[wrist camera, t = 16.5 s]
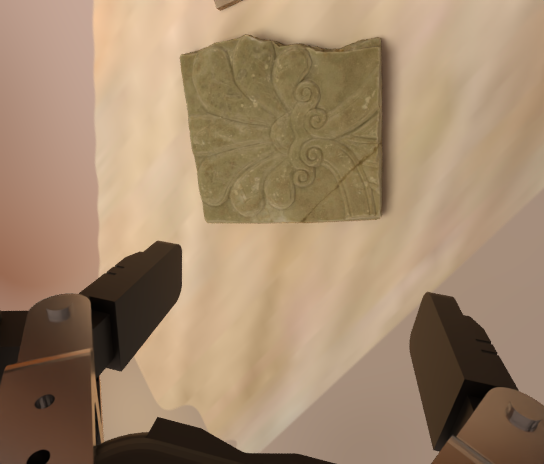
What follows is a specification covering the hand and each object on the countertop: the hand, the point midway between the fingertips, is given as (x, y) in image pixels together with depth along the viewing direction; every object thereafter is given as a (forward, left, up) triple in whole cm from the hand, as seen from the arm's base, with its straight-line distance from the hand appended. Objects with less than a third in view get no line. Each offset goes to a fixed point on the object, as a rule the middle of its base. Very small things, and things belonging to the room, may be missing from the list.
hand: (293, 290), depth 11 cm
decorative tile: (+4, -3, -29) cm, 29 cm away
